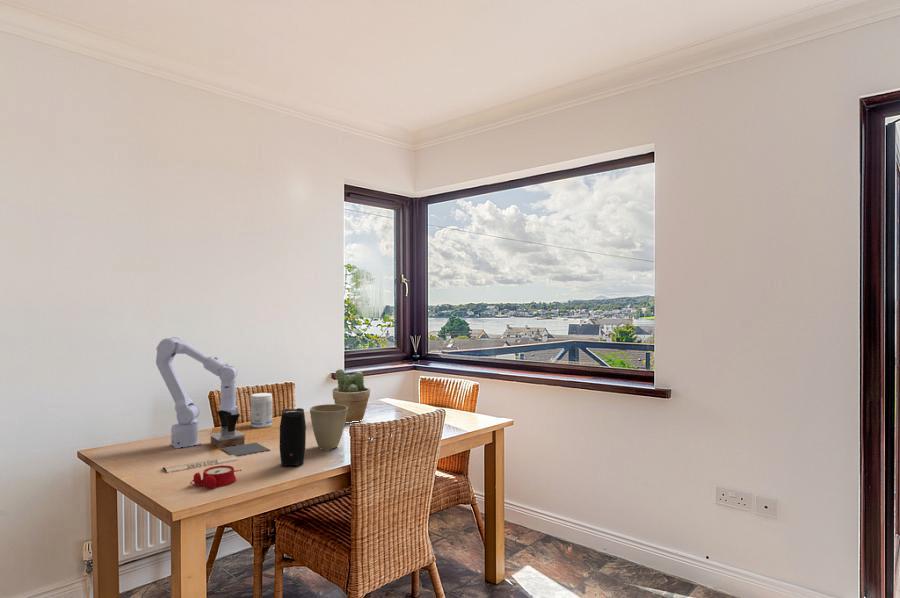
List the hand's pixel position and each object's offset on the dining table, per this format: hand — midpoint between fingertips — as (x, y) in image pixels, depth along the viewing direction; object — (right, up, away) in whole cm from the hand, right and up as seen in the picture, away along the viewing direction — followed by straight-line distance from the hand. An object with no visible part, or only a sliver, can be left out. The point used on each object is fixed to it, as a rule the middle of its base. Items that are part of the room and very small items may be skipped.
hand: (227, 429), depth 222 cm
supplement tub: (+3, -6, +32) cm, 32 cm away
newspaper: (+3, -7, -29) cm, 30 cm away
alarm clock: (+15, -6, -48) cm, 51 cm away
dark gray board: (+11, -6, -9) cm, 15 cm away
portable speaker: (+34, -6, -27) cm, 44 cm away
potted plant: (+42, -7, +44) cm, 61 cm away
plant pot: (+42, -6, -4) cm, 43 cm away
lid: (0, -4, 0) cm, 4 cm away
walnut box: (0, -6, 0) cm, 6 cm away
